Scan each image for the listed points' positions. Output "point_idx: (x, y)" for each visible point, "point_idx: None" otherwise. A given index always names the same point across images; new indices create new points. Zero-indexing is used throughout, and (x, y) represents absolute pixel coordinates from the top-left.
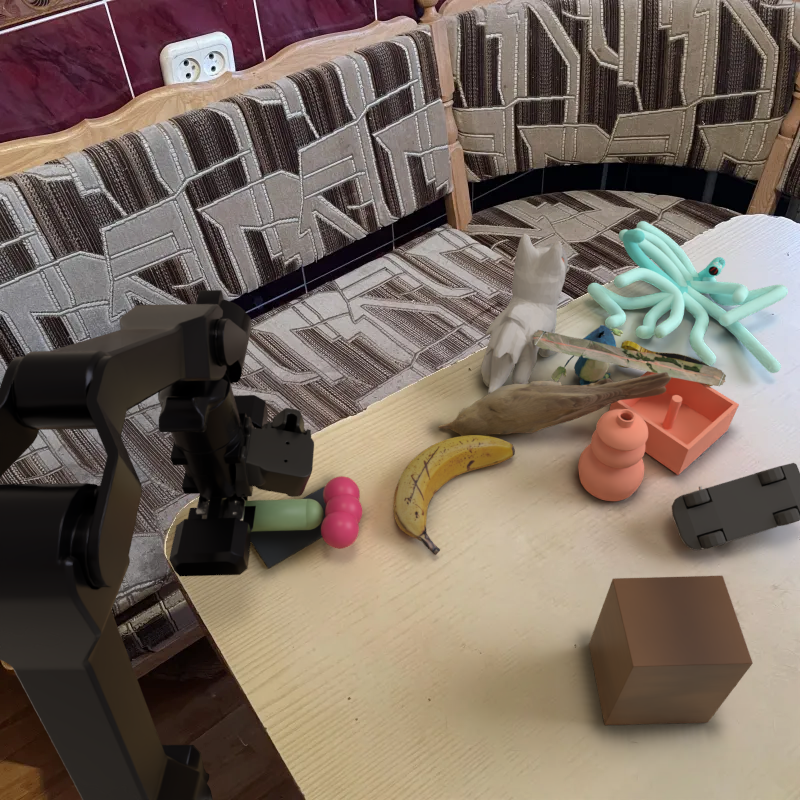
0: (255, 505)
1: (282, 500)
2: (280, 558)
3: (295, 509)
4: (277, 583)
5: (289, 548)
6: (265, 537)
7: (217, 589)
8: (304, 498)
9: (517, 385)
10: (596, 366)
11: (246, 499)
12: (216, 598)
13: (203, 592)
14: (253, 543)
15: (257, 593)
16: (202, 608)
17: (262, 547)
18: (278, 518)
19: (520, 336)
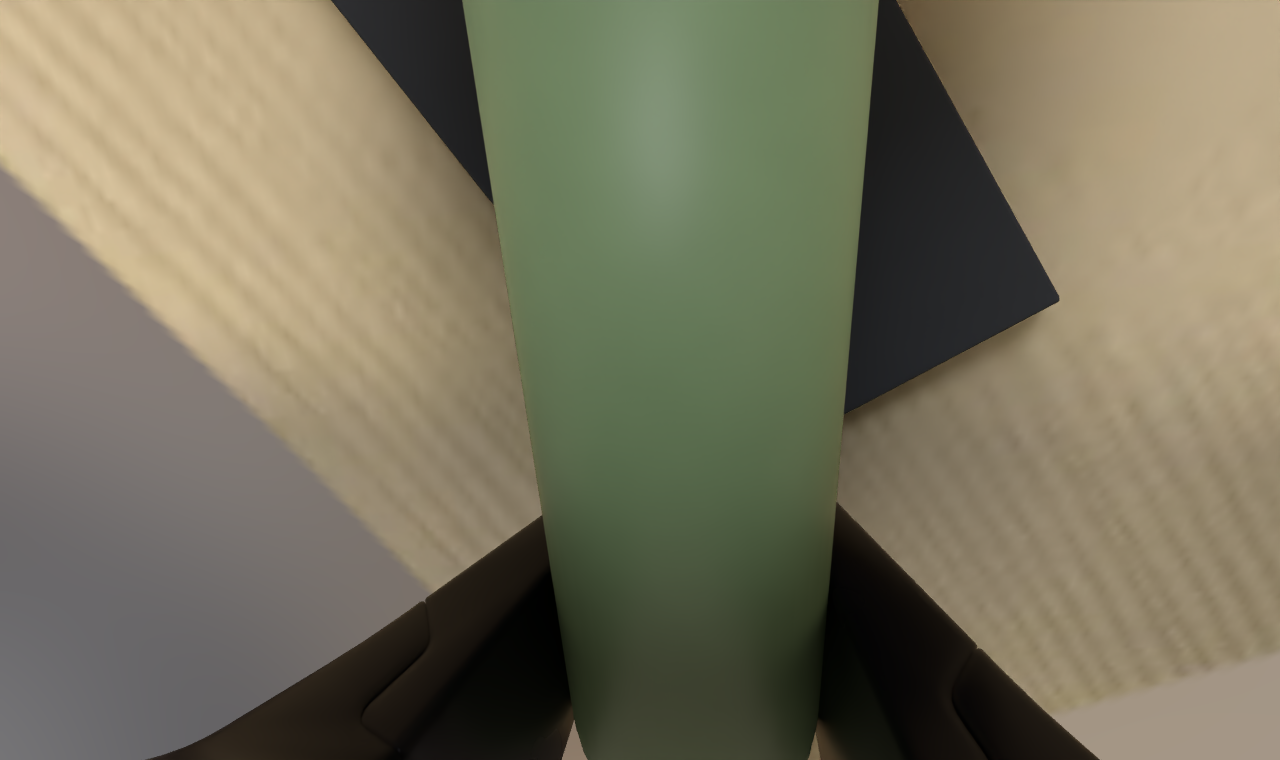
0: (647, 571)
1: (539, 264)
2: (998, 207)
3: (711, 18)
4: (1213, 204)
5: (906, 139)
6: None
7: (1128, 588)
8: (402, 74)
9: None
10: None
11: (540, 591)
12: (1200, 590)
13: (1126, 651)
14: None
15: (1259, 350)
16: (1250, 653)
17: (863, 359)
18: (813, 285)
19: None
